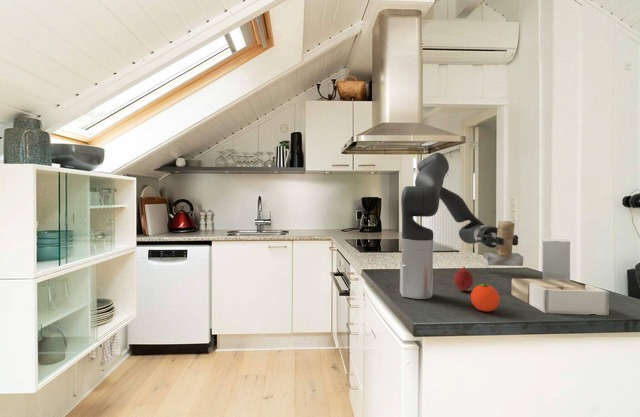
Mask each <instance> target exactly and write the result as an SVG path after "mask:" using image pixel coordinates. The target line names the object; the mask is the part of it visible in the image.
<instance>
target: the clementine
mask: <svg viewBox="0 0 640 417" xmlns="http://www.w3.org/2000/svg"><path fill="white" fill-rule="evenodd" d="M470 300H471V303H472V305H473V306H474V307H475V308H476V309H477V310H479V311H481V312H491V311H495V309H496V308H498V306H499V304H500V301H501V298H500V295H499V293H498V291H497V289H496V288H494V287H493V286H492V285H489V284H484V283H478V284H476V286H475V287H474V288H473V289H472V291H471V292H470Z"/></svg>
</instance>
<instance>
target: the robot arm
mask: <svg viewBox="0 0 640 417" xmlns="http://www.w3.org/2000/svg"><path fill="white" fill-rule="evenodd" d="M417 170H418V174H417V175H416V177H415V180H414V181H415V182H414V185H409V186H404V188H403V189H402V191H401V197H400V198H401V202H400V203H401V261H400V264H399V269H400V270H399V293H400V294H401V296H402V298H410V299H418V300H426V299H431V298H433V291H434V289H433V287H434V286H433V285H434V284H433V282H434V280H433V277H434V276H433V274H434V231H433V230H432V229H431V228H427V227H425V226H423V225H421V224H419V223H418V222H417V221H415V219H414V217H422V218H424V217H425V218H428V217H433V216H435V215H436V214H437V213H438V211H439V207H440V200H441V203H443V204H444V206H445V207H446V208H447V210H448V212H449V213H450V215H451V217H452V218H453V219H454V221H455V222H456V223H464V222H466V221H469V222H468V223H467V224H465V225H464V226H462V227H461V228H460V229H459V230H458V237H459V239H460V240H462V241H463V242H464V243H466V244H469V245H470V244H471V245H472V244H480V245H482V246H484V247H488V248H490V249H496V244H498V245H503V244H504V239H503V238H500V237H497V229H498V226H497V227H496V226H491V225H485V223H483V222H482V221H481V220H480V219H479V218H478V217H477V216H475V215H474V214H473V213H472V211H471V210H470V208H469V207H468V205H467V203H466V201H464V199H463V198H462V197H461V196H460V195H459V194H457V193H455V192H453V191H451V190H449V189H447V188H445V187H444V180H445V177H446V175H447V173H448V172H449V170H450V166H449V161H448V159H447V158H446V156H445V155H444V154H442V153H441V152H434V153H432V154H430V155H429V156H427V157H426V158H424V159H422V160H421V161H419V162H418V163H417ZM518 245H519V236H518V235H517V234H514V235H513V243H512V246H518Z"/></svg>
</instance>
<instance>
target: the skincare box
mask: <svg viewBox="0 0 640 417" xmlns="http://www.w3.org/2000/svg"><path fill="white" fill-rule="evenodd" d="M541 244H542V246H541V247H542V251H541V252H542V255H541V256H542V279H554V280H568V281H571V241H570V240H569V239H558V238H554V239H552V238H542V242H541Z"/></svg>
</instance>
